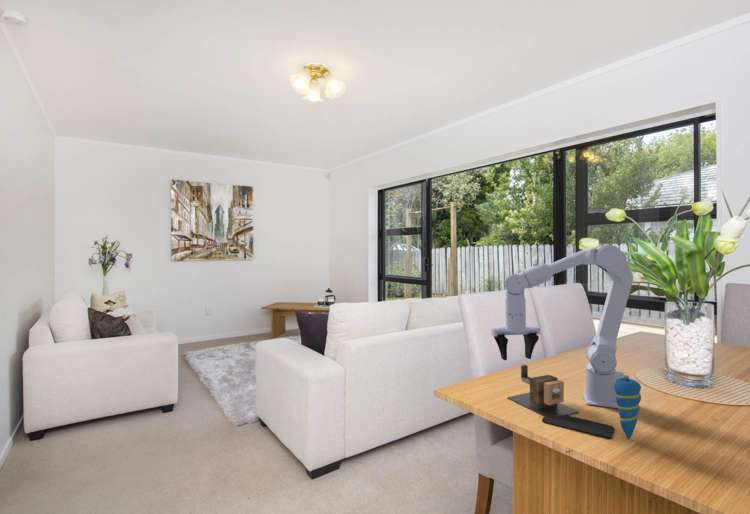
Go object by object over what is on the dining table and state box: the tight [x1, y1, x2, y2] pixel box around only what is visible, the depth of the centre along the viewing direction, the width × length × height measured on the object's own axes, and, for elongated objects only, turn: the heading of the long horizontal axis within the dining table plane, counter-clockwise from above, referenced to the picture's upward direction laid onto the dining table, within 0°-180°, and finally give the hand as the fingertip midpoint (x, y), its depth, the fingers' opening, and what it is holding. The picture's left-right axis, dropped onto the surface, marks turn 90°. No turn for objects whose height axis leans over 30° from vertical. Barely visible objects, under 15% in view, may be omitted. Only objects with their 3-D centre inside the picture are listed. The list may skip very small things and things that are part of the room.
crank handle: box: [520, 364, 562, 396], centre depth 107 cm, size 13×2×5 cm, turn 23°
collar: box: [544, 379, 565, 405], centre depth 103 cm, size 2×5×5 cm, turn 113°
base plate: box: [507, 392, 580, 418], centre depth 107 cm, size 16×10×1 cm, turn 24°
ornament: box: [614, 373, 642, 440], centre depth 88 cm, size 5×5×15 cm
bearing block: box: [529, 374, 559, 409], centre depth 106 cm, size 3×7×7 cm, turn 113°
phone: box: [541, 415, 615, 440], centre depth 95 cm, size 7×1×15 cm
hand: (516, 358), depth 117 cm, fingers open, 7 cm apart
